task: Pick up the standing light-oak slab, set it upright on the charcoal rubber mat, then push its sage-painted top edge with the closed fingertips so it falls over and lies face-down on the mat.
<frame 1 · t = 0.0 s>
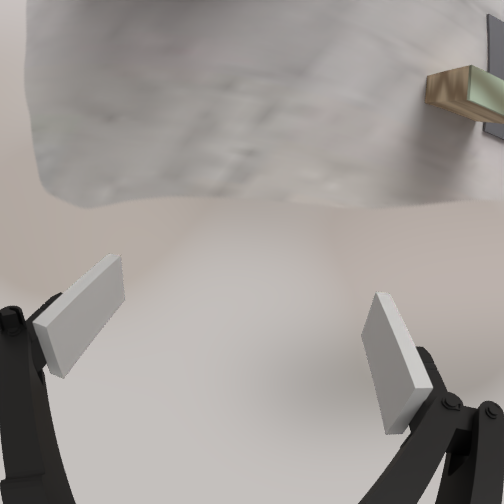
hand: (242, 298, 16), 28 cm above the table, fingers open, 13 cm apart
oak slab: (453, 98, 33), on the table
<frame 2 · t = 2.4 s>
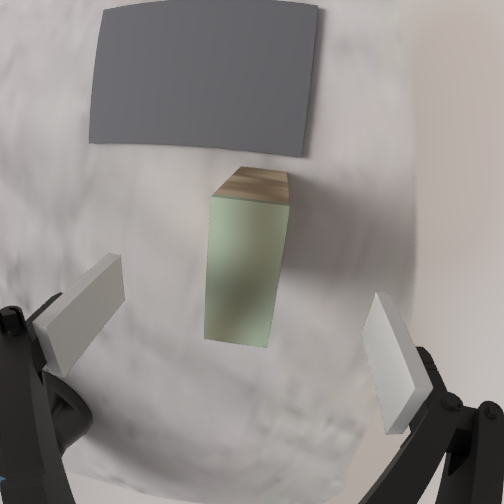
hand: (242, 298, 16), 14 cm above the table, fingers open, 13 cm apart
oak slab: (258, 218, 29), on the table
rubber mat: (193, 68, 24), on the table
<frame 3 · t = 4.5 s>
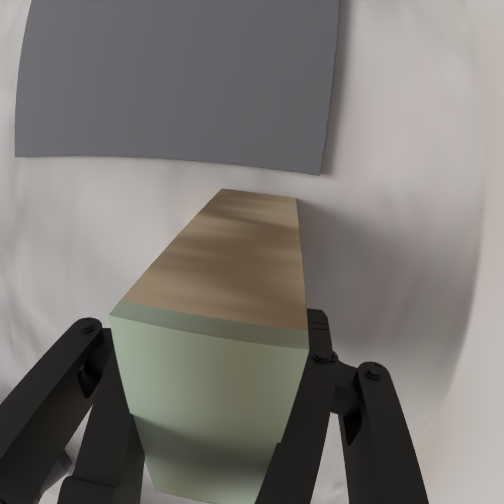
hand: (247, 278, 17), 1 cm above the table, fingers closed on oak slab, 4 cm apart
oak slab: (249, 269, 19), on the table, touching gripper
rubber mat: (148, 37, 14), on the table
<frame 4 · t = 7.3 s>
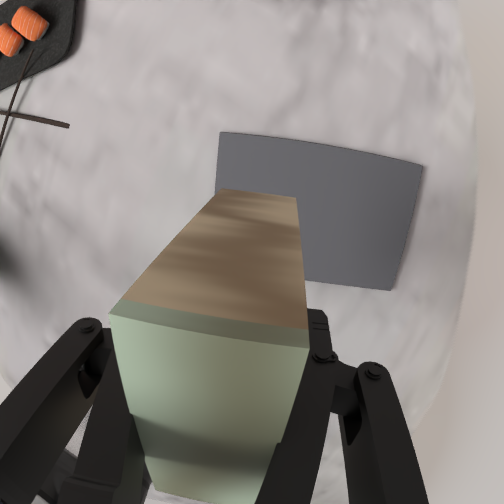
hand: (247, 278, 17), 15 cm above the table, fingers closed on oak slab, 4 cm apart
sushi plate: (5, 94, 29), on the table
oak slab: (249, 268, 19), point 14 cm above the table, touching gripper
rubber mat: (315, 214, 31), on the table
when the fingers open (3 cm above the table, at t = 10.0 s): oak slab stays where it is, resting on rubber mat.
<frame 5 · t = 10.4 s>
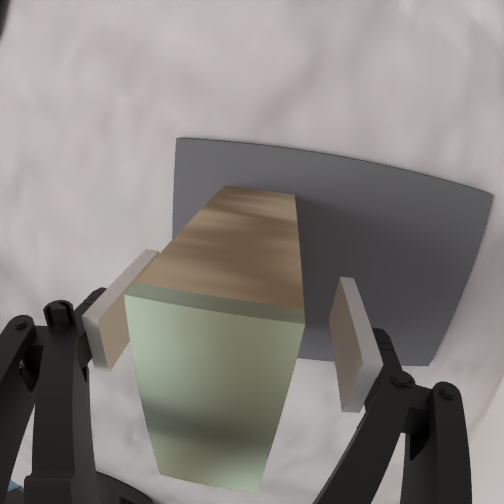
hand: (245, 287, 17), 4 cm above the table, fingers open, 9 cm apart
oak slab: (250, 263, 19), point 1 cm above the table, touching rubber mat
rubber mat: (331, 269, 20), on the table
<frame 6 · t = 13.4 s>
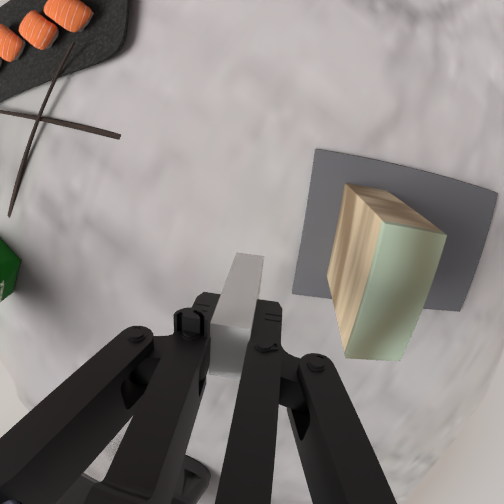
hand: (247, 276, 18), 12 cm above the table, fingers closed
sushi plate: (31, 95, 27), on the table
oak slab: (356, 234, 28), point 1 cm above the table, touching rubber mat
rubber mat: (402, 239, 28), on the table
milk carton: (2, 260, 35), on the table
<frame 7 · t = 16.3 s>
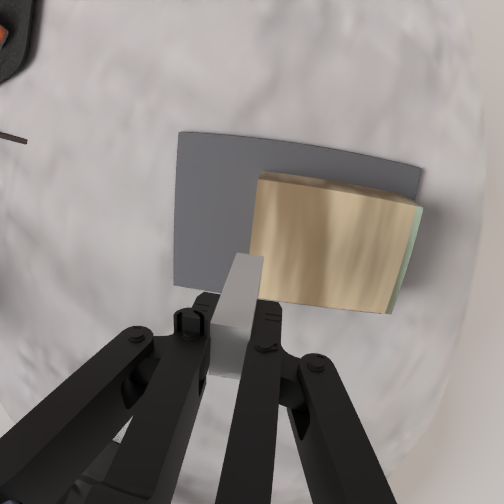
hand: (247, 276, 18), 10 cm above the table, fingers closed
oak slab: (253, 232, 24), point 3 cm above the table, tilted 90°, touching rubber mat
rubber mat: (291, 227, 27), on the table
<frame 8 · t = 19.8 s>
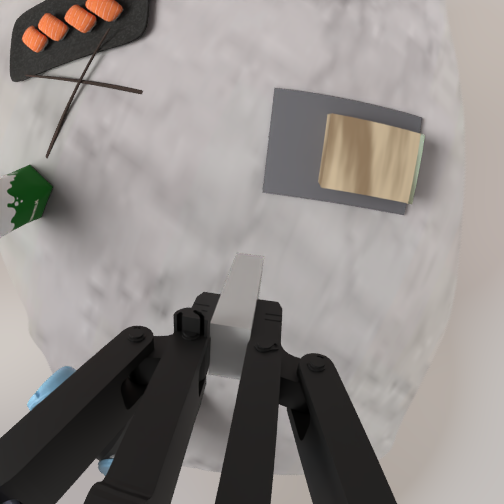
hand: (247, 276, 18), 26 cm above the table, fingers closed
sushi plate: (73, 66, 38), on the table
oak slab: (324, 149, 37), point 3 cm above the table, tilted 90°, touching rubber mat
rubber mat: (344, 151, 39), on the table
milk carton: (35, 190, 46), on the table
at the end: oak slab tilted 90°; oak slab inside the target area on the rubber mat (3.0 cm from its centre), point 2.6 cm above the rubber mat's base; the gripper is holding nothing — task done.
